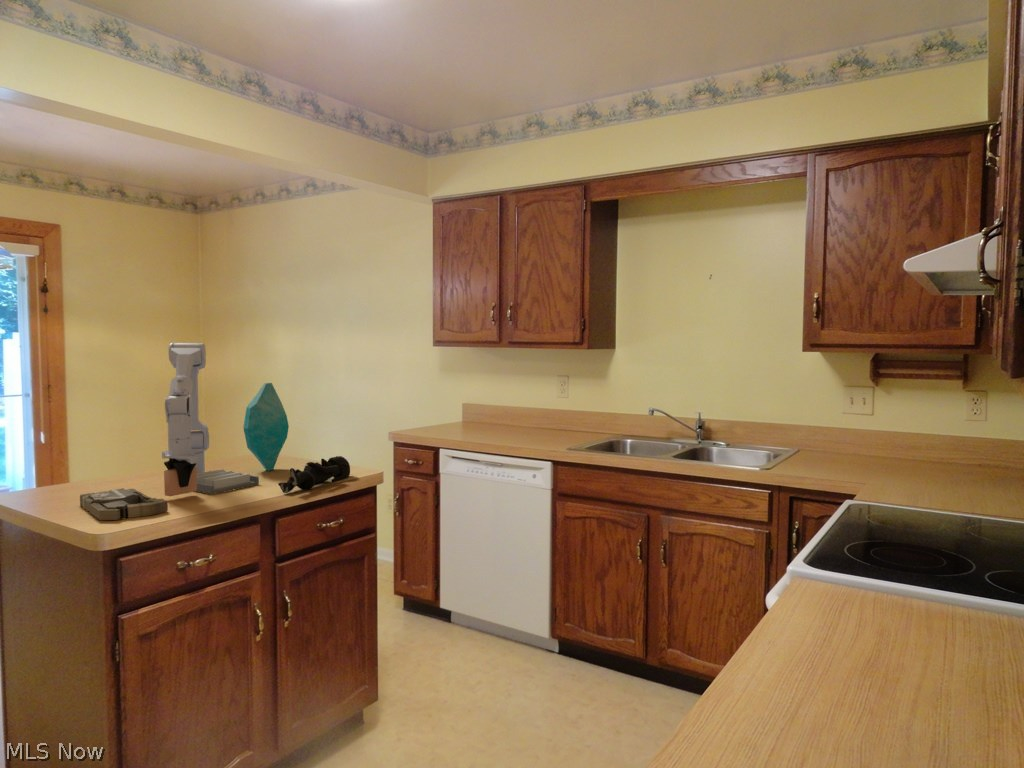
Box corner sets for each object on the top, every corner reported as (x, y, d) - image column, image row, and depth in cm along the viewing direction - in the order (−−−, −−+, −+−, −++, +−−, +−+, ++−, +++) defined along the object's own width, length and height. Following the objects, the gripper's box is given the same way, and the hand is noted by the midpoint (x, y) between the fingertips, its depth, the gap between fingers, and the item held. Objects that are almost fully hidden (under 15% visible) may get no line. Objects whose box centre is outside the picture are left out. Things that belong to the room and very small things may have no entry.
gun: (140, 484, 185) (78, 493, 174) (169, 499, 167) (102, 510, 157) (141, 497, 185) (79, 507, 174) (169, 514, 168) (103, 525, 157)
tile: (164, 495, 181) (164, 470, 180) (191, 489, 187) (191, 465, 187) (169, 496, 179) (169, 471, 179) (196, 491, 186) (196, 466, 186)
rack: (177, 487, 196) (176, 475, 196) (224, 478, 210) (224, 467, 210) (211, 494, 187) (211, 482, 187) (258, 484, 201) (258, 473, 201)
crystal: (241, 469, 224) (239, 382, 222) (281, 465, 232) (280, 381, 230) (252, 475, 214) (251, 385, 212) (294, 470, 223) (292, 383, 221)
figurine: (276, 495, 190) (273, 468, 190) (341, 476, 218) (339, 452, 218) (299, 495, 187) (296, 467, 187) (362, 476, 215) (359, 451, 214)
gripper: (150, 437, 183) (152, 485, 184) (180, 442, 175) (182, 492, 176) (175, 434, 189) (176, 480, 190) (205, 439, 181) (206, 487, 182)
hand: (180, 486), depth 183 cm, fingers closed on tile, 2 cm apart
